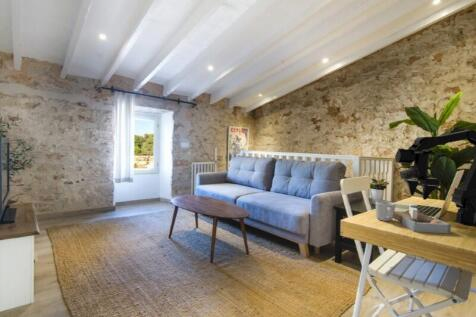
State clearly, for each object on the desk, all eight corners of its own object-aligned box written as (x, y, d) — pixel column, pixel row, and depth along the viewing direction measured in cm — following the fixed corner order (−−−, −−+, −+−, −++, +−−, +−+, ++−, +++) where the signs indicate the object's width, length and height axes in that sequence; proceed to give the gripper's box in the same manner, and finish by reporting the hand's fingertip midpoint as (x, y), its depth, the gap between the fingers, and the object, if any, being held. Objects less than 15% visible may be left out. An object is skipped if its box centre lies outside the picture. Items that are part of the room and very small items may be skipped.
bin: (435, 226, 112) (435, 218, 111) (450, 233, 103) (451, 224, 103) (401, 224, 112) (402, 216, 112) (413, 231, 104) (414, 223, 104)
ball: (438, 229, 105) (429, 229, 108) (443, 228, 106) (434, 227, 109) (436, 220, 105) (427, 220, 109) (441, 219, 107) (432, 219, 110)
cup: (399, 225, 112) (401, 207, 111) (379, 223, 113) (381, 205, 113) (390, 218, 122) (391, 201, 121) (372, 216, 124) (373, 200, 123)
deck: (419, 217, 125) (419, 211, 124) (438, 226, 112) (439, 220, 111) (389, 216, 125) (389, 210, 125) (405, 224, 112) (405, 218, 112)
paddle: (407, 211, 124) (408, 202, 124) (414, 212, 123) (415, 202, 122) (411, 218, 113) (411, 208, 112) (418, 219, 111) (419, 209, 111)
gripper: (392, 161, 129) (389, 192, 131) (415, 165, 111) (412, 201, 112) (415, 162, 129) (412, 193, 130) (442, 166, 110) (439, 202, 112)
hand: (418, 197), depth 121 cm, fingers open, 9 cm apart
